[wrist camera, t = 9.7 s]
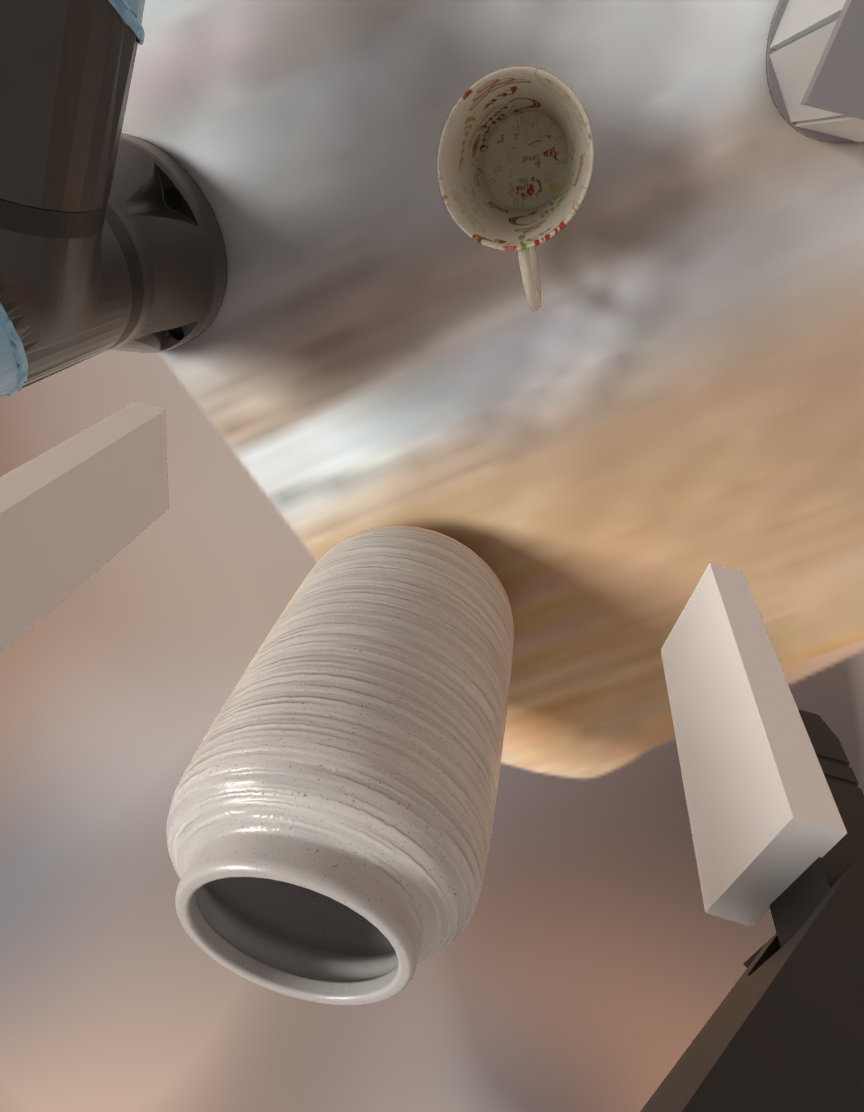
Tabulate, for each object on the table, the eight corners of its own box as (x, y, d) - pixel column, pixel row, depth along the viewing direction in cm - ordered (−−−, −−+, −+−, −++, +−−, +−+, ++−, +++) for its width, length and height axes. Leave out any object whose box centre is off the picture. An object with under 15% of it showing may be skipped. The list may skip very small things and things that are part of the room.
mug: (581, 64, 39) (583, 40, 30) (604, 281, 45) (611, 310, 36) (451, 107, 41) (419, 95, 33) (489, 307, 47) (471, 340, 39)
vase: (319, 483, 58) (83, 788, 30) (538, 522, 56) (501, 888, 28) (320, 648, 69) (148, 981, 41) (503, 685, 67) (451, 1064, 39)
